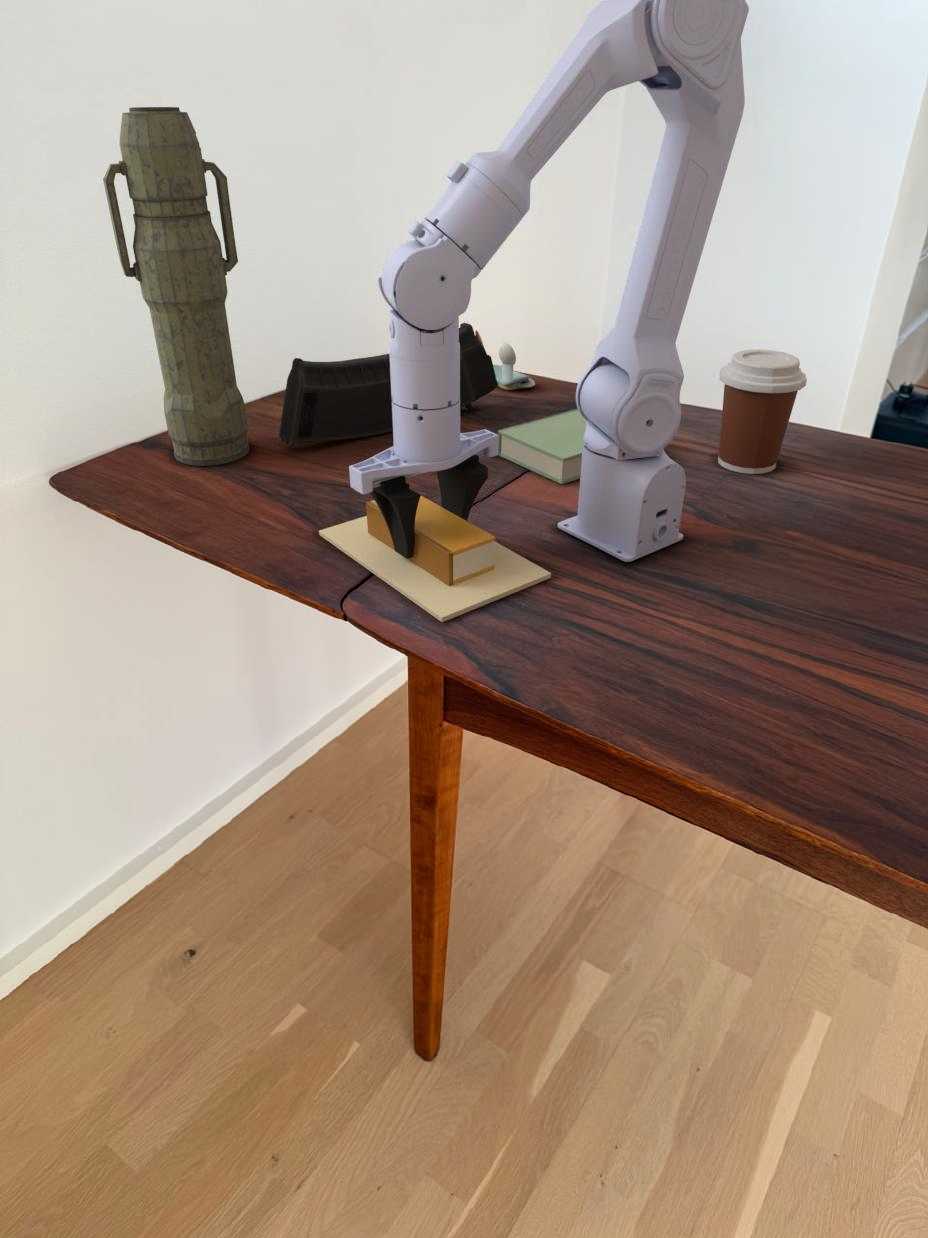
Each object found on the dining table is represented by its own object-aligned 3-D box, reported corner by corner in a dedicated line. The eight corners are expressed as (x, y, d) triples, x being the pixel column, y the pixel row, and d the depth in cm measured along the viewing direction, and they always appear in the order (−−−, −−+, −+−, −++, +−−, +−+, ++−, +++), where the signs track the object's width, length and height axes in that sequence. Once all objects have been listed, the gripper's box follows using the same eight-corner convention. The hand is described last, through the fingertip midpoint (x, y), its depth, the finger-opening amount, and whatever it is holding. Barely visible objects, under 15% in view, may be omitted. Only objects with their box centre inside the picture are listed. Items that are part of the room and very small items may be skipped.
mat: (551, 577, 75) (551, 573, 75) (442, 622, 69) (441, 617, 68) (420, 503, 88) (420, 498, 88) (319, 535, 82) (318, 530, 82)
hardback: (593, 426, 108) (595, 403, 106) (660, 451, 101) (663, 426, 99) (496, 454, 100) (497, 430, 98) (562, 484, 92) (563, 458, 91)
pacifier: (511, 377, 127) (480, 383, 123) (513, 334, 123) (481, 339, 120) (544, 388, 122) (513, 395, 119) (548, 344, 119) (515, 349, 115)
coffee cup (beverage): (689, 461, 98) (705, 356, 92) (735, 442, 103) (753, 342, 97) (758, 485, 92) (780, 374, 86) (803, 464, 97) (827, 358, 91)
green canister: (273, 454, 100) (228, 107, 81) (171, 474, 95) (98, 109, 76) (250, 432, 106) (204, 105, 88) (153, 448, 101) (83, 107, 83)
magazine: (262, 383, 93) (473, 270, 103) (250, 376, 96) (457, 266, 105) (317, 508, 105) (502, 396, 114) (305, 499, 107) (487, 390, 116)
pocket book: (367, 532, 81) (365, 502, 80) (411, 518, 84) (409, 488, 82) (449, 586, 73) (448, 553, 71) (494, 569, 75) (495, 536, 74)
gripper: (465, 373, 77) (464, 509, 84) (325, 404, 70) (338, 551, 77) (515, 391, 72) (511, 535, 80) (372, 427, 65) (381, 582, 72)
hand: (429, 545), depth 78 cm, fingers closed on pocket book, 5 cm apart
